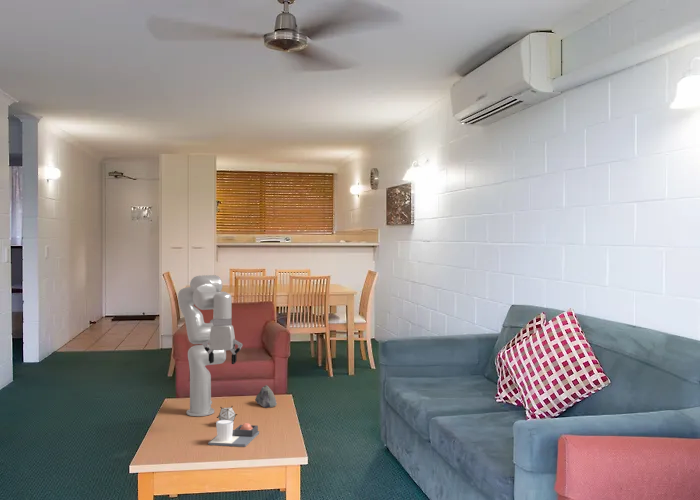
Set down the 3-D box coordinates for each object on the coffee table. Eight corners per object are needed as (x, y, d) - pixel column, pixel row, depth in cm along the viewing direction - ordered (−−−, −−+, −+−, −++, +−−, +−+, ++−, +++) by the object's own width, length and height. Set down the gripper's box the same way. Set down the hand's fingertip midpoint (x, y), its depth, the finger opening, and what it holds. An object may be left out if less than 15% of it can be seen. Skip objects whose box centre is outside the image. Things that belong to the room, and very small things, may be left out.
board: (224, 431, 270) (224, 423, 270) (259, 433, 268) (259, 425, 268) (208, 445, 252) (208, 436, 252) (245, 446, 250) (245, 437, 250)
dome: (242, 431, 267) (242, 421, 267) (254, 432, 266) (254, 421, 266) (238, 435, 262) (238, 424, 262) (250, 435, 261) (250, 425, 261)
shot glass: (218, 442, 252) (218, 424, 252) (214, 437, 258) (214, 420, 258) (235, 440, 254) (235, 422, 254) (231, 435, 261) (231, 418, 261)
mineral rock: (255, 402, 322) (255, 381, 322) (277, 401, 323) (277, 381, 323) (253, 408, 309) (253, 387, 309) (276, 408, 310) (276, 387, 310)
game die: (229, 434, 279) (231, 419, 273) (212, 426, 280) (213, 411, 275) (239, 420, 286) (241, 405, 280) (222, 412, 288) (224, 397, 282)
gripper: (199, 323, 270) (199, 364, 270) (239, 324, 267) (239, 365, 267) (206, 321, 277) (206, 361, 277) (245, 322, 274) (245, 362, 274)
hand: (222, 363), depth 272 cm, fingers open, 9 cm apart
